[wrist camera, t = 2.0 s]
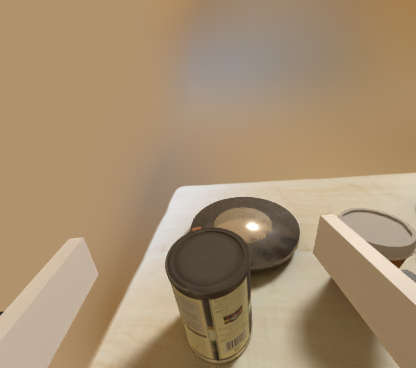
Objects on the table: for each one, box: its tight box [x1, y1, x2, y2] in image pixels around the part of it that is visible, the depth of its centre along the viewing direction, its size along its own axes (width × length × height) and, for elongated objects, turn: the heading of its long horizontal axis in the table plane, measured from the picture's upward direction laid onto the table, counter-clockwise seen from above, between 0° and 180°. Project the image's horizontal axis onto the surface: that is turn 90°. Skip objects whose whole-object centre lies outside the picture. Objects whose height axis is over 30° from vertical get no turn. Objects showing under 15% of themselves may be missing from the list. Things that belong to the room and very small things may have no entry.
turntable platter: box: [191, 197, 300, 272], centre depth 45 cm, size 24×24×2 cm
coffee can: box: [165, 227, 253, 364], centre depth 27 cm, size 10×10×14 cm
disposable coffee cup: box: [338, 208, 416, 269], centre depth 31 cm, size 10×10×12 cm
